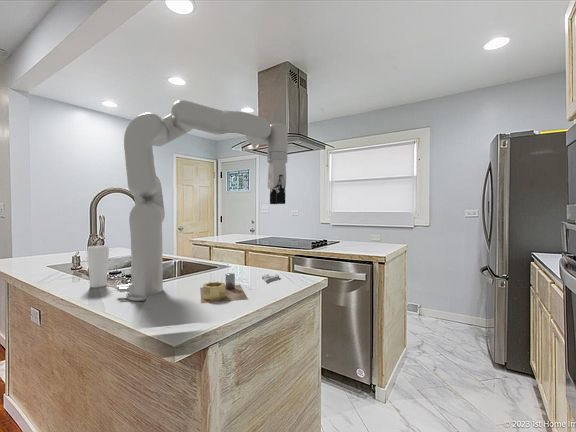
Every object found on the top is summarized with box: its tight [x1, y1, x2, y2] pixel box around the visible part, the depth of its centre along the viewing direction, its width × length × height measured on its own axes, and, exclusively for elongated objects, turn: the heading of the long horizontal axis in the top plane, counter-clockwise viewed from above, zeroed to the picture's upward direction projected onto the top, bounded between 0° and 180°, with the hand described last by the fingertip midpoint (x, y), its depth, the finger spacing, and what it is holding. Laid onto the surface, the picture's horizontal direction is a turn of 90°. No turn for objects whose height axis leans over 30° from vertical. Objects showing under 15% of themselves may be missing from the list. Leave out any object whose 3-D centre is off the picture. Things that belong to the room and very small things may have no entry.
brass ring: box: [202, 281, 226, 301], centre depth 95 cm, size 7×7×4 cm
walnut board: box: [200, 284, 249, 304], centre depth 100 cm, size 14×18×2 cm
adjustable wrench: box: [261, 273, 280, 284], centre depth 119 cm, size 25×6×2 cm, turn 156°
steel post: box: [225, 272, 236, 290], centre depth 106 cm, size 3×3×5 cm
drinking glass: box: [86, 244, 110, 289], centre depth 113 cm, size 7×7×15 cm
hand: (277, 204), depth 114 cm, fingers open, 9 cm apart
